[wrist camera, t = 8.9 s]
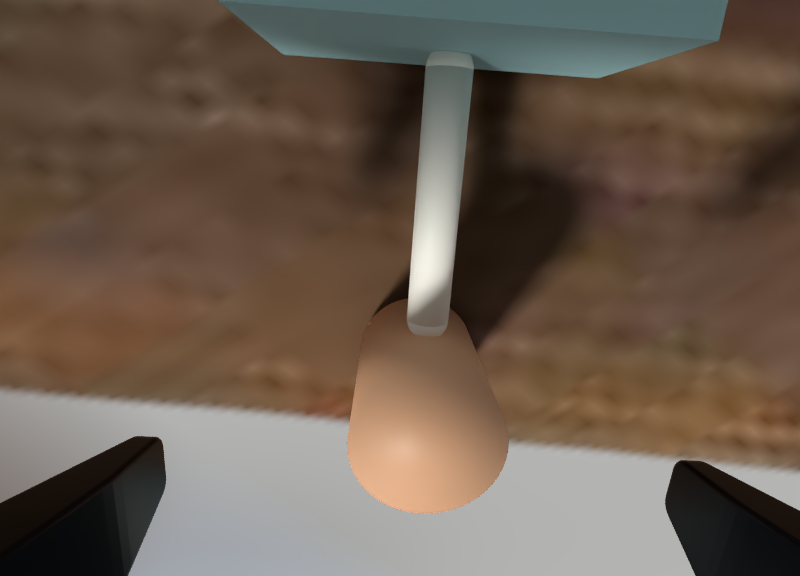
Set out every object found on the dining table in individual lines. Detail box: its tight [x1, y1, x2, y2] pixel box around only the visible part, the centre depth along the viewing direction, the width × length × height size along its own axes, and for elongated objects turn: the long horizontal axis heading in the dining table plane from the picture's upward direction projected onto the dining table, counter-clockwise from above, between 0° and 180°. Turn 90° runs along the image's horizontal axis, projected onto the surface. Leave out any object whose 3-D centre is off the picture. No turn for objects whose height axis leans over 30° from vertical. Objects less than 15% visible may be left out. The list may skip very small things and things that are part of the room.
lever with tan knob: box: [218, 0, 728, 514], centre depth 9 cm, size 7×12×5 cm, turn 176°
